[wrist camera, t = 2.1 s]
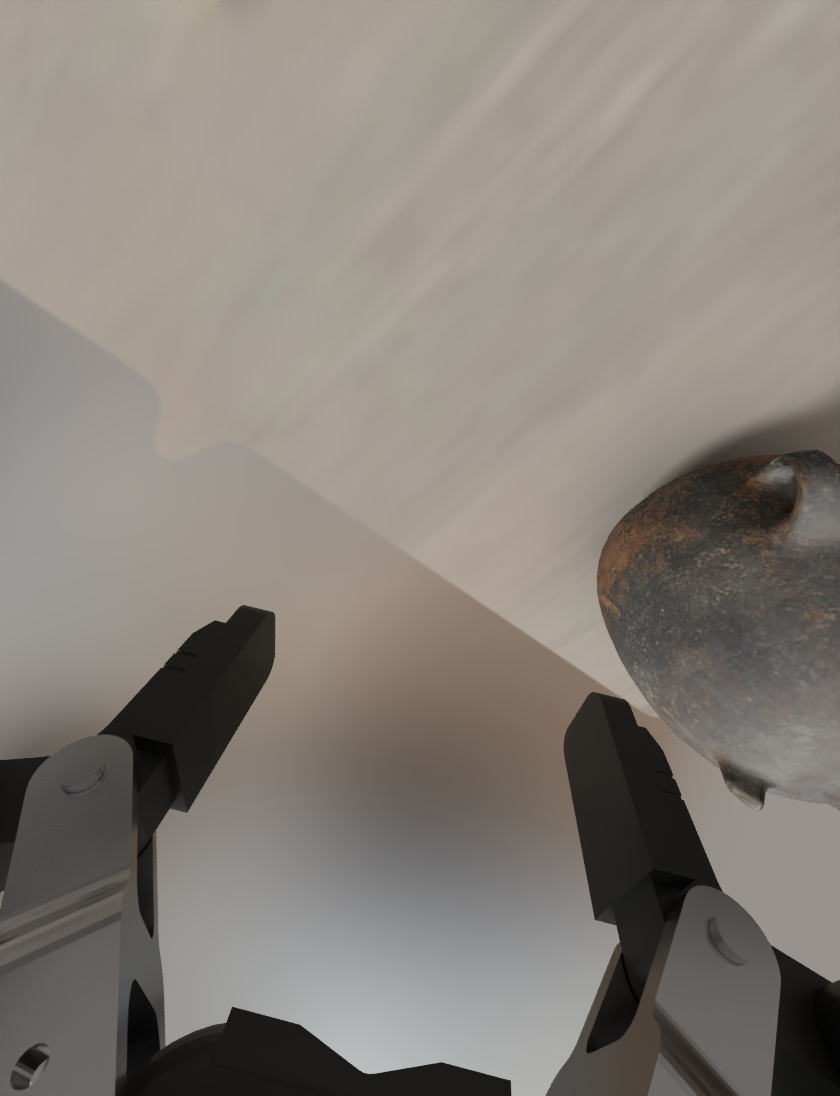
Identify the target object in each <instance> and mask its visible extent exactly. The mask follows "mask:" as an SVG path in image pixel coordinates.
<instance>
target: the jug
mask: <svg viewBox="0 0 840 1096" xmlns="http://www.w3.org/2000/svg"><path fill="white" fill-rule="evenodd" d="M597 593H598V599H599V604H600V608H601V612H602V616H603V619H604V622H605V624H606V627H607V630H608V632H609V635H610V637H611V639H612V641H613V643H614V646H615V648H616V650H617V653H618V655H619V657H620V659H621V661H622V663H623V665H624V666H625V668H626V670H627V671H628V673H629V675H630V676H631V678H632V679H633V681H634V682H635V684H636V685H637V687H638V688H639V690H640V691H641V693H642V694H643V696H644V697H645V699H646V700H647V702H648V703H649V704H650V705H651V707H652V708H653V709H654V710H655V712H656V713H657V714H658V715H659V717H660V718H661V719H662V720H663V721H664V722H665V723H666V724H667V725H668V726H669V727H670V728H671V729H672V730H673V732H674V733H676V735H678V737H679V738H681V739H682V740H683V741H684V742H685V743H687V744H688V745H689V746H690V747H691V748H692V749H693V750H695V751H696V752H697V753H699V754H700V755H701V756H703V757H704V758H705V759H707V760H708V761H709V762H711V763H712V764H713V765H715V766H716V767H718V768H720V769H721V772H722V775H723V778H724V781H725V784H726V785H727V787H728V788H729V790H730V792H732V793H733V794H734V795H735V796H736V797H737V798H738V799H740V800H741V801H742V802H743V803H744V804H746V805H747V806H748V807H750V808H752V809H754V810H756V811H758V810H761V809H762V808H763V806H764V800H765V793H766V792H769V793H772V794H774V795H778V796H782V797H786V798H790V799H795V800H800V801H805V802H812V803H823V804H829V805H831V806H833V807H835V808H837V809H839V810H840V464H837V463H836V462H835V461H834V460H833V459H832V458H831V457H829V456H828V455H826V454H825V453H823V452H821V451H818V450H807V451H798V452H793V453H788V454H784V455H766V456H755V457H749V458H744V459H738V460H732V461H729V462H725V463H721V464H717V465H713V466H709V467H706V468H703V469H700V470H697V471H694V472H692V473H689V474H687V475H684V476H681V477H679V478H677V479H675V480H673V481H671V482H669V483H667V484H666V485H664V486H662V487H660V488H659V489H657V490H656V491H654V492H653V493H652V494H650V495H649V496H648V497H647V498H645V499H644V500H643V501H641V502H640V503H639V504H638V505H636V506H635V507H634V508H633V509H631V510H630V511H629V512H628V513H627V514H626V515H625V516H624V517H623V518H622V519H621V520H620V521H619V523H618V524H617V525H616V526H615V528H614V529H613V531H612V532H611V533H610V535H609V537H608V539H607V541H606V543H605V545H604V547H603V550H602V553H601V556H600V560H599V565H598V572H597Z"/></svg>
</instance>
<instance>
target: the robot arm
mask: <svg viewBox="0 0 840 1096" xmlns="http://www.w3.org/2000/svg"><path fill="white" fill-rule="evenodd" d="M274 658H275V614H274V613H273V612H270V611H266V610H262V609H258V608H254V607H250V606H246V605H243V606H241V607H239V608H238V609H237V611H236V612H235V613H234V614H233V616H231V618H230V619H229V620H228V621H227V622H226V623H223V622H219V621H213V622H211V623H210V624H208V625H206V626H204V627H203V628H201V629H199V630H198V631H196V632H194V633H193V634H192V635H191V636H190V637H189V638H188V639H187V640H186V641H185V643H184V644H183V645H182V646H181V647H180V648H179V649H178V651H177V653H176V654H173V656H172V657H171V658H170V659H169V660H168V661H167V662H166V663H165V664H164V667H163V668H160V670H159V671H158V672H157V673H156V674H155V675H154V676H153V677H152V678H151V679H150V680H149V681H148V683H147V684H146V685H145V686H144V687H143V688H142V689H141V690H140V691H139V693H137V694H136V696H135V697H134V698H133V699H132V700H131V701H130V702H129V703H128V704H127V705H126V707H125V708H124V709H123V710H122V711H121V712H120V713H119V714H118V715H117V716H116V717H115V719H113V721H112V722H111V723H110V724H109V725H108V726H107V727H106V728H105V729H104V730H102V731H101V732H100V733H99V734H97V735H95V736H90V737H86V738H83V739H80V740H77V741H75V742H72V743H70V744H68V745H67V746H65V747H63V748H61V749H60V750H58V751H57V752H55V753H54V754H52V755H51V756H45V757H37V758H24V759H11V760H0V892H1V891H4V896H3V900H2V905H1V909H0V1096H511V1081H510V1080H506V1079H502V1078H498V1077H494V1076H490V1075H487V1074H483V1073H480V1072H476V1071H472V1070H468V1069H465V1068H460V1067H457V1066H453V1065H449V1064H446V1063H442V1062H441V1063H436V1064H429V1065H423V1066H418V1067H412V1068H406V1069H401V1070H394V1071H388V1072H383V1073H377V1074H366V1073H363V1072H361V1071H359V1070H358V1069H357V1068H355V1067H354V1066H353V1065H351V1064H350V1063H349V1062H347V1061H346V1060H345V1059H344V1058H342V1057H341V1056H340V1055H338V1054H337V1053H336V1052H335V1051H333V1050H332V1049H331V1048H329V1047H328V1046H327V1045H326V1044H324V1043H323V1042H322V1041H320V1040H319V1039H318V1038H316V1037H315V1036H314V1035H312V1034H311V1033H310V1032H309V1031H307V1030H306V1029H305V1028H303V1027H302V1026H301V1025H298V1024H295V1023H291V1022H287V1021H284V1020H280V1019H276V1018H272V1017H269V1016H265V1015H261V1014H257V1013H254V1012H250V1011H246V1010H242V1009H238V1008H235V1007H232V1009H231V1012H230V1014H229V1017H228V1020H227V1023H223V1024H217V1025H212V1026H209V1027H206V1028H203V1029H200V1030H197V1031H194V1032H192V1033H190V1034H188V1035H186V1036H184V1037H182V1038H180V1039H178V1040H176V1041H174V1042H172V1043H171V1044H169V1045H168V1046H166V1047H165V1014H164V986H163V974H162V964H161V957H160V950H159V938H158V900H157V899H158V898H157V897H158V896H157V849H156V829H157V827H158V826H159V824H160V823H161V821H162V820H163V818H164V816H165V815H166V813H167V812H168V810H169V809H170V808H171V809H175V810H178V811H182V812H186V813H187V812H188V810H189V809H190V807H191V805H192V804H193V802H194V800H195V799H196V797H197V795H198V794H199V792H200V790H201V789H202V787H203V785H204V783H205V782H206V780H207V779H208V777H209V775H210V774H211V772H212V770H213V769H214V767H215V765H216V764H217V762H218V760H219V759H220V757H221V755H222V754H223V752H224V750H225V749H226V747H227V745H228V744H229V742H230V740H231V739H232V737H233V735H234V734H235V732H236V730H237V729H238V727H239V725H240V724H241V722H242V720H243V719H244V717H245V715H246V714H247V712H248V710H249V709H250V707H251V705H252V704H253V702H254V700H255V699H256V697H257V695H258V694H259V692H260V690H261V689H262V687H263V685H264V683H265V682H266V680H267V678H268V676H269V674H270V672H271V669H272V666H273V662H274ZM564 756H565V762H566V767H567V772H568V778H569V783H570V789H571V794H572V800H573V805H574V810H575V816H576V820H577V826H578V832H579V836H580V842H581V848H582V853H583V858H584V864H585V869H586V874H587V880H588V885H589V891H590V896H591V901H592V906H593V911H594V918H595V920H598V921H602V922H606V923H610V924H613V925H617V930H618V934H619V939H620V942H619V944H617V946H616V947H615V949H614V952H613V954H612V956H611V959H610V961H609V964H608V966H607V969H606V971H605V974H604V976H603V979H602V981H601V984H600V986H599V989H598V991H597V994H596V996H595V999H594V1002H593V1004H592V1006H591V1009H590V1011H589V1014H588V1017H587V1019H586V1022H585V1024H584V1027H583V1029H582V1032H581V1034H580V1037H579V1039H578V1042H577V1044H576V1046H575V1048H574V1050H573V1052H572V1054H571V1055H570V1057H569V1059H568V1060H567V1062H566V1063H565V1064H564V1065H563V1067H562V1068H561V1069H560V1071H559V1072H558V1074H557V1075H556V1077H555V1079H554V1080H553V1082H552V1084H551V1086H550V1088H549V1090H548V1092H547V1094H546V1096H840V980H839V981H836V982H833V983H831V982H830V981H828V980H826V979H825V978H823V977H822V976H820V975H819V974H817V973H815V972H814V971H812V970H810V969H809V968H807V967H805V966H804V965H802V964H801V963H799V962H797V961H796V960H794V959H792V958H791V957H789V956H787V955H786V954H784V953H782V952H781V951H779V950H778V949H776V948H775V947H773V946H772V945H770V943H769V942H768V940H767V938H766V936H765V935H764V933H763V932H762V930H761V929H760V927H759V926H758V924H757V923H756V922H755V921H754V919H753V918H752V917H751V916H750V915H749V914H748V913H747V911H745V909H744V908H743V907H741V906H740V905H739V904H738V903H737V902H736V901H735V900H733V899H732V898H731V897H730V896H728V895H726V894H725V893H723V891H722V889H721V888H720V886H719V883H718V881H717V879H716V877H715V874H714V872H713V869H712V867H711V865H710V862H709V860H708V857H707V855H706V853H705V850H704V848H703V846H702V843H701V841H700V838H699V836H698V834H697V831H696V829H695V826H694V824H693V821H692V819H691V817H690V814H689V812H688V809H687V807H686V805H685V802H684V800H682V799H681V793H680V790H679V788H678V785H677V783H676V781H675V779H673V778H672V776H673V773H672V771H671V769H670V766H669V764H668V761H667V759H666V757H665V754H664V752H663V750H662V749H661V747H660V746H659V745H658V743H657V742H656V741H655V739H654V738H653V737H652V736H651V734H650V733H649V732H648V730H647V729H646V728H644V727H640V726H638V725H637V723H636V720H635V717H634V715H633V712H632V710H631V707H630V705H629V703H628V702H627V701H626V700H624V699H620V698H616V697H612V696H608V695H603V694H600V693H596V692H592V693H590V694H589V695H588V697H587V698H586V700H585V701H584V703H583V704H582V706H581V708H580V709H579V711H578V712H577V714H576V716H575V717H574V719H573V720H572V722H571V724H570V725H569V727H568V729H567V731H566V734H565V739H564ZM30 1081H32V1082H33V1084H32V1085H31V1086H29V1084H30Z"/></svg>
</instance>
